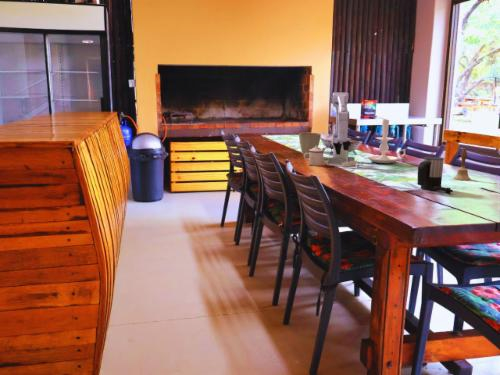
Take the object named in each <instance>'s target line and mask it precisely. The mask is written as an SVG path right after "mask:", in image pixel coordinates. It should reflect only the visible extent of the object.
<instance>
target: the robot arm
mask: <svg viewBox="0 0 500 375" xmlns="http://www.w3.org/2000/svg"><path fill="white" fill-rule="evenodd" d="M331 101H332V106H333V107H334V108H335V132H333V133H332V134H331V141H330V142H331V143H330V144H331V146H332V147H333V150H332V158H333V157H335V156H336V154H337V155H340V151H341V150H347V151H349V149H350V147H351V145H352V142H351V141H352V140H351V139H352V138H351V137H348V131H349V130H348V129H349V122H350V111H349V110H348V102H349V93H348V92H347V91H346V92H333V93H332V100H331Z"/></svg>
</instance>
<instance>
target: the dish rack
mask: <svg viewBox="0 0 500 375" xmlns="http://www.w3.org/2000/svg"><path fill="white" fill-rule="evenodd" d="M355 158H356V156H355V157H354V156H348V162H347V159H346V158H338V157H333V156H332V157H328V160H326V161H325V165H327V166H331V167H333V166H334V167H339V168H346V167H351V165H352V166H356V165H355V164H357V162H358V161H357V160H356V159H355Z"/></svg>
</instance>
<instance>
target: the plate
mask: <svg viewBox="0 0 500 375" xmlns="http://www.w3.org/2000/svg"><path fill="white" fill-rule="evenodd" d="M349 152H350V151H349V150H348V151H347V150H341V151H340V155H337V154H336V156H335V157H338V158H346V159H347V162H348V157H349Z"/></svg>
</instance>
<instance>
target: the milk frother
mask: <svg viewBox="0 0 500 375" xmlns="http://www.w3.org/2000/svg"><path fill="white" fill-rule="evenodd" d="M444 160H445V158H444V157H441V156H423V161H421V162H420V163H419V164H418V166H417V185H418V186H420V189H422V190H426V191H434V192H435V191H441V192H445V194H450V193H453V191H454V190H453V189H451V188H450V187H443V186H442V179H443V170H444V169H443V168H444V162H445V161H444Z"/></svg>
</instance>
